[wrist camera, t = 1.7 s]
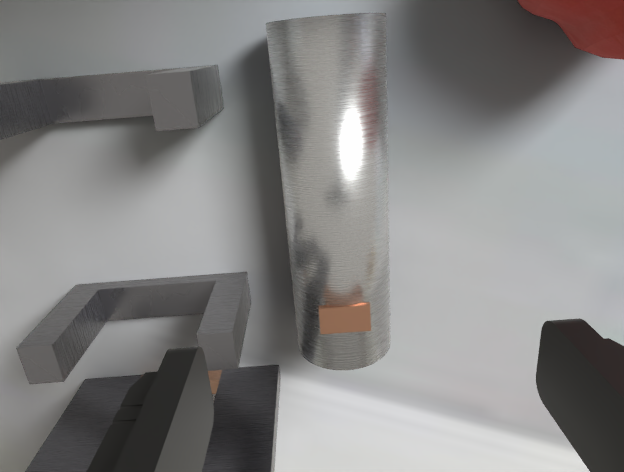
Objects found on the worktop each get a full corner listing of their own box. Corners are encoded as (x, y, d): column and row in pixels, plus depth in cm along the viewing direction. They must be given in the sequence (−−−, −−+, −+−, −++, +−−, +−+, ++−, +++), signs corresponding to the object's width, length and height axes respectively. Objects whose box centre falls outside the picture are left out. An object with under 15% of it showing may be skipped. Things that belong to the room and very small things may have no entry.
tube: (270, 26, 22) (260, 20, 17) (376, 17, 22) (396, 9, 17) (299, 319, 28) (297, 375, 23) (382, 313, 28) (398, 368, 23)
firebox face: (85, 379, 29) (-50, 586, 18) (278, 365, 29) (264, 565, 18) (89, 392, 29) (-41, 603, 18) (280, 378, 29) (266, 582, 18)
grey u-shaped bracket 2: (76, 284, 26) (16, 347, 21) (246, 271, 26) (232, 331, 21) (85, 315, 27) (29, 383, 22) (251, 302, 27) (237, 368, 22)
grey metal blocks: (15, 81, 22) (-80, 92, 17) (217, 65, 22) (189, 71, 17) (28, 123, 23) (-59, 148, 18) (223, 108, 23) (198, 127, 17)
